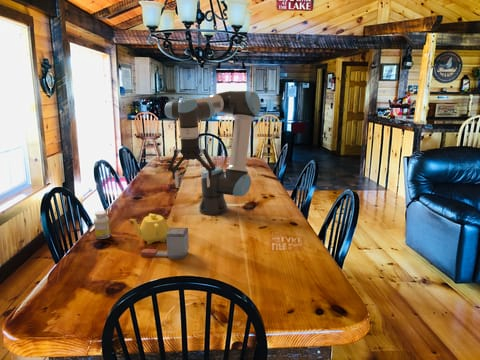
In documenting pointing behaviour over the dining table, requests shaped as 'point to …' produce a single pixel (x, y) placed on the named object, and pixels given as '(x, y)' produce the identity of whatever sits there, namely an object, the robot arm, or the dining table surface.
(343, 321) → the dining table surface
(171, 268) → the dining table surface
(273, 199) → the dining table surface
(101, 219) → the pill bottle
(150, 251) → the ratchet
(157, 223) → the teapot
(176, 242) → the rimmed grey cube
